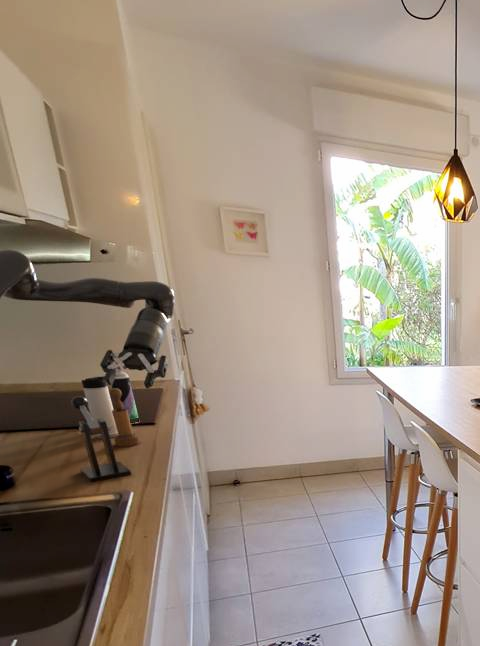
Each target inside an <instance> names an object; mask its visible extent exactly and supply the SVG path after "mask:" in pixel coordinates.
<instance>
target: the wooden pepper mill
mask: <svg viewBox="0 0 480 646" xmlns="http://www.w3.org/2000/svg"><path fill="white" fill-rule="evenodd" d="M109 394H110V397H111V398H112V399H113V401H114V400H115V401H114V402H112V405H113V406H114V407H115V409H113V410H112V413H113V417H114V421H115V424H116V428H117V432H118V435H117V436H116V437H114V438H113V439H114V444H115V447H121V448H124V447H133V446H136V445H139V444H141V438H140V436H139V435H138V434H136V433H135V432H134V431H133V426H132V424H131V423H130V419H129V415H128V411H127V409H122V402H121V401H120V397H121V394H122V393H121V391H120V390H119V389H117V388H113V389H112V388H110V389H109ZM116 409H117V410H116Z"/></svg>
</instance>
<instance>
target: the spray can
mask: <svg viewBox="0 0 480 646" xmlns="http://www.w3.org/2000/svg"><path fill="white" fill-rule="evenodd" d="M116 368H117V367H116ZM116 368H114V369H116ZM113 388H117V389H119V390H120V391H121V393H122V394H121V397H120V401H121V402H122V409H127V411H128V415H129V419H135V418H139V414H138V410H137V406H136V402H135V401H136V400H135V397H134V393H133V389H132V384H131V380H130V376H129V375H128V373H126V371H124V372H122V371H121V372H119V373H117V374H116V377H115V379H114V382H113V384H112V385H111V389H113ZM133 424H139V422H135V423H131V425H133Z"/></svg>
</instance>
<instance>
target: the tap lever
mask: <svg viewBox="0 0 480 646" xmlns="http://www.w3.org/2000/svg"><path fill="white" fill-rule="evenodd" d="M70 403H71V406H72V407H73V409H74V408H75V409H76V410H80V411H81V413H82V415H83V418H84V419H85V420H86V424H87V425H88V429H89V433H90V436H96V435H97V434H101V429H100V426H99V424H98V422H97V421H93V420H92V418H91V415H90V412H89V411H88V409H87V408H89V407H88V401H87V399H86V397H84V396H80V395H78V396H74V397H73V398H72V399H71V402H70Z"/></svg>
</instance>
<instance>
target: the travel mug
mask: <svg viewBox="0 0 480 646" xmlns="http://www.w3.org/2000/svg"><path fill="white" fill-rule="evenodd" d="M104 377H105V375H102V376H94V377H87V378H85V379H81V384H82V389H83V393H84V396H85V398H86V399H87V401H88V407H87V408H88V410H89V411H88V412H89V414H90V416H91V418H92V420H93V421H97V419H103V420H104V421H106V424H107V425H108V432H109V436H110V439H114V438H115V437H116V436H117V435H118V432H117V428H116V424H115V421H114V417H113V413H112V410H114V407H113V406H114V405H113V402H112V399H111V398H112V397H111V395H110V393H109V392H110V390H109V387H108V383H107V382H106V380H105V378H104ZM97 422H98V421H97ZM95 436H96V437H95V438H97V439H101V440H102V436H101V434H97V435H95Z"/></svg>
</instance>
